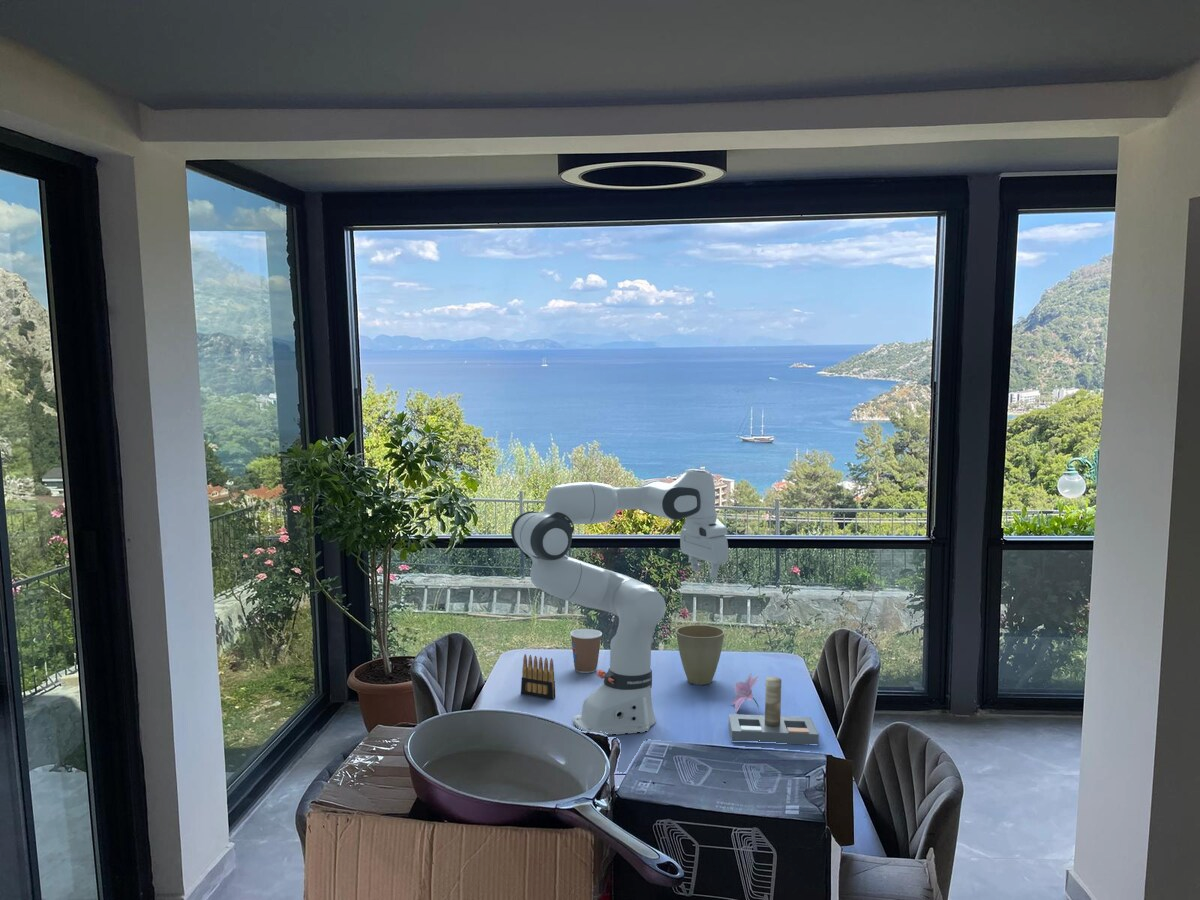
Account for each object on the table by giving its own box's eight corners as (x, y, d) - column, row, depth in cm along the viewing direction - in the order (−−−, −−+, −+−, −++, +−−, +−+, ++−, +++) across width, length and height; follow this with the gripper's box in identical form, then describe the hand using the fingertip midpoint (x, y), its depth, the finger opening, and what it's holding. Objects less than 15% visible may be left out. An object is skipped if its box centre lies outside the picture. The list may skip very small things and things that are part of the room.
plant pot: (710, 671, 287) (711, 623, 286) (731, 686, 273) (732, 635, 271) (667, 675, 282) (668, 626, 281) (686, 691, 268) (687, 639, 267)
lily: (737, 701, 263) (723, 675, 261) (774, 690, 259) (760, 664, 256) (733, 727, 252) (719, 700, 250) (772, 717, 248) (758, 689, 246)
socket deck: (731, 742, 229) (732, 729, 229) (728, 724, 241) (728, 712, 241) (818, 745, 228) (818, 732, 227) (810, 728, 240) (811, 715, 239)
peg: (770, 727, 232) (771, 682, 231) (761, 722, 235) (762, 677, 234) (783, 725, 233) (784, 680, 232) (774, 720, 237) (775, 676, 236)
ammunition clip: (520, 694, 263) (520, 654, 263) (523, 692, 265) (524, 652, 264) (552, 699, 259) (553, 659, 258) (555, 697, 261) (555, 657, 260)
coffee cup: (572, 663, 293) (573, 628, 292) (603, 665, 291) (604, 629, 291) (567, 673, 283) (567, 636, 282) (599, 675, 281) (599, 638, 280)
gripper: (673, 522, 257) (676, 568, 259) (711, 532, 239) (714, 583, 240) (692, 519, 260) (695, 565, 261) (731, 529, 241) (734, 579, 243)
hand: (704, 573), depth 251 cm, fingers open, 8 cm apart
